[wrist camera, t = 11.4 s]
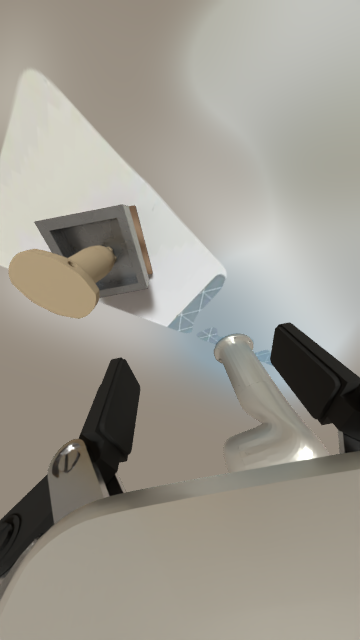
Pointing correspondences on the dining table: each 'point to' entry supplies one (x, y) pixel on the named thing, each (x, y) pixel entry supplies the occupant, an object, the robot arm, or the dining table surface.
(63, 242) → the grey open box
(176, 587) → the robot arm
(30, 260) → the handle
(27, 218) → the dining table surface
